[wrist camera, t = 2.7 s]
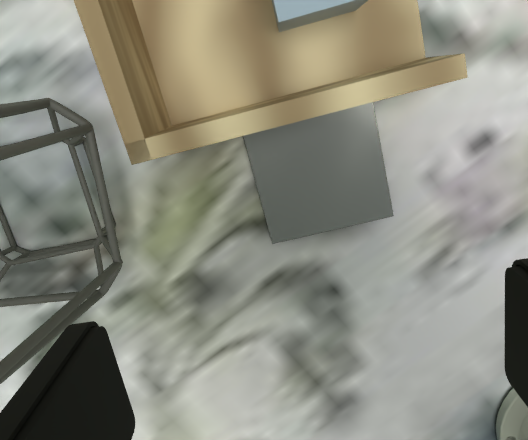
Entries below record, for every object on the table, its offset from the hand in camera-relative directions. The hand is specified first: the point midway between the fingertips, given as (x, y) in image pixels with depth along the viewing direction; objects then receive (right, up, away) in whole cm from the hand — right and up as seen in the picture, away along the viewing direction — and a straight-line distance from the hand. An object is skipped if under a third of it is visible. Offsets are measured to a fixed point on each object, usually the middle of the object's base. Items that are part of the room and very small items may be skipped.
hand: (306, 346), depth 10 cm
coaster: (+3, +7, +22) cm, 23 cm away
